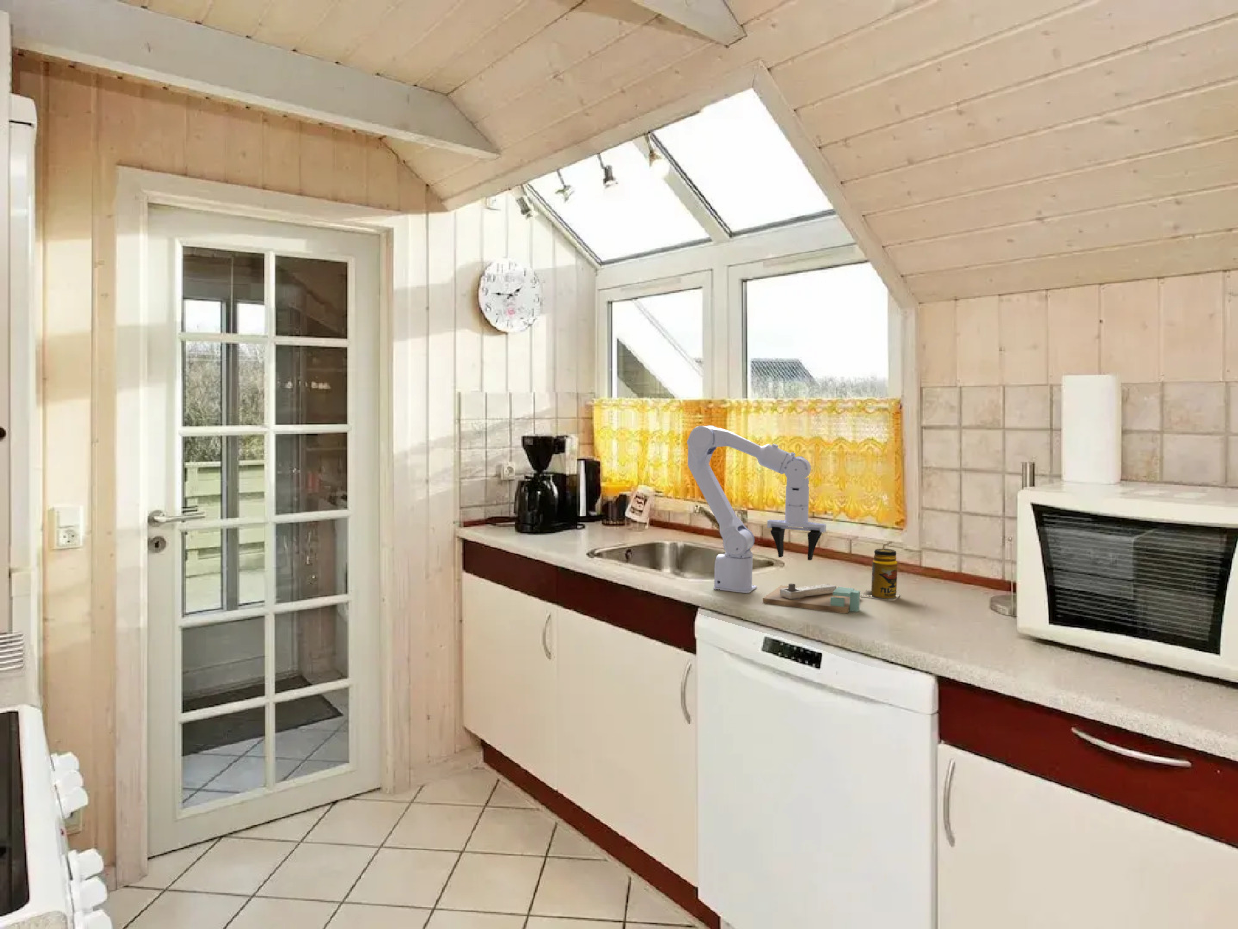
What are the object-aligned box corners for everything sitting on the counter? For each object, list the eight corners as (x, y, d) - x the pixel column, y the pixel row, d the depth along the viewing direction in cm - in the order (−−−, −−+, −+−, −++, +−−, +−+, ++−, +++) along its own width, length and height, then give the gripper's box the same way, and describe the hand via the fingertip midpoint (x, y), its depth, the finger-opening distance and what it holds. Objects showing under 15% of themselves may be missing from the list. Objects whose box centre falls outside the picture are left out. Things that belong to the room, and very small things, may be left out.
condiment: (894, 601, 194) (896, 553, 193) (859, 597, 198) (861, 550, 197) (900, 595, 200) (902, 549, 199) (866, 591, 204) (867, 545, 203)
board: (762, 602, 190) (763, 584, 190) (780, 589, 205) (781, 572, 204) (846, 613, 181) (847, 594, 181) (859, 599, 196) (860, 581, 195)
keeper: (830, 610, 184) (830, 591, 184) (835, 604, 189) (836, 586, 189) (856, 613, 181) (856, 594, 181) (860, 608, 187) (861, 589, 186)
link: (790, 599, 189) (790, 592, 188) (779, 595, 192) (779, 589, 192) (837, 592, 195) (837, 586, 195) (826, 589, 199) (826, 583, 199)
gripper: (764, 504, 198) (762, 557, 199) (822, 508, 191) (820, 563, 192) (772, 501, 204) (770, 553, 205) (828, 505, 197) (826, 559, 198)
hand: (795, 558), depth 199 cm, fingers open, 7 cm apart
